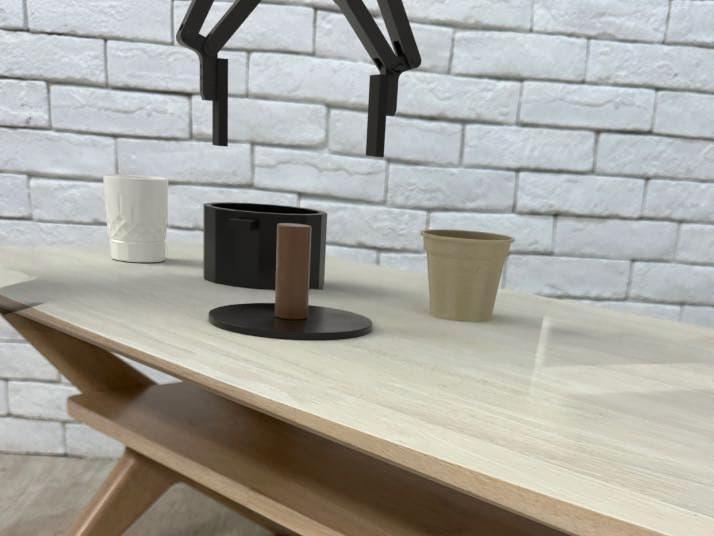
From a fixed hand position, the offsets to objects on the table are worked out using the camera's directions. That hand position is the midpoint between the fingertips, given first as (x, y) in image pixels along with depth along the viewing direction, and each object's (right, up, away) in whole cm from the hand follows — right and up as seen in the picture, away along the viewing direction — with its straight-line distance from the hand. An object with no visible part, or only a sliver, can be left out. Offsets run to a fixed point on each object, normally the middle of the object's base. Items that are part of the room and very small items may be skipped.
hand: (299, 151), depth 85 cm
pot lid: (-1, -13, +6) cm, 15 cm away
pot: (-7, -4, +30) cm, 31 cm away
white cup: (-25, +3, +43) cm, 50 cm away
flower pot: (+15, -11, +17) cm, 25 cm away
